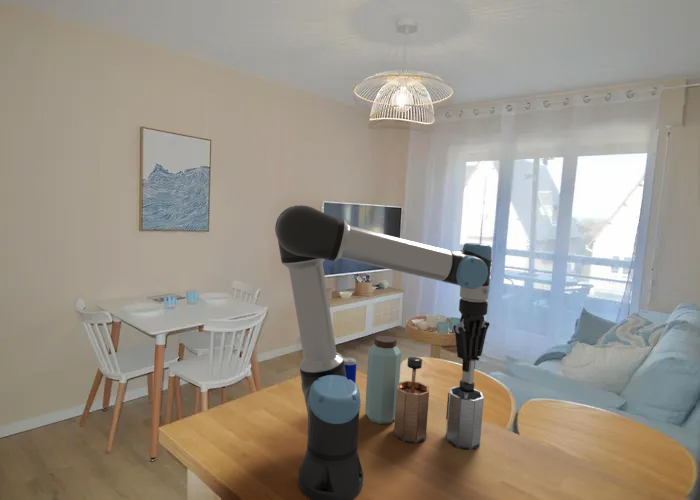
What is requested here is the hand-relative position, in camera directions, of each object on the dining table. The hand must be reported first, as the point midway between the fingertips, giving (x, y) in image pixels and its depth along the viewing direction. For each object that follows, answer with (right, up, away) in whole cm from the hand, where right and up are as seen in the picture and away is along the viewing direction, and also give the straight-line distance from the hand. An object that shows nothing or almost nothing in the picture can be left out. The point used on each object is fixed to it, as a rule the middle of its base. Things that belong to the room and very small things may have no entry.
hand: (467, 381), depth 116 cm
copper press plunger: (-15, -5, +2) cm, 16 cm away
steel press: (-1, -17, +1) cm, 17 cm away
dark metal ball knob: (-1, -11, +1) cm, 11 cm away
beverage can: (-34, -14, +21) cm, 42 cm away
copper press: (-16, -16, +3) cm, 23 cm away
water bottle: (-23, -15, +12) cm, 31 cm away
